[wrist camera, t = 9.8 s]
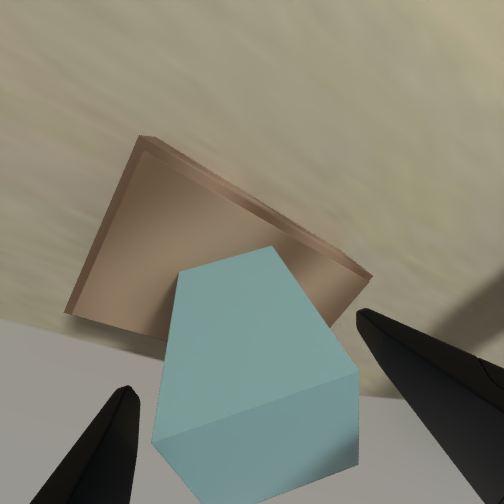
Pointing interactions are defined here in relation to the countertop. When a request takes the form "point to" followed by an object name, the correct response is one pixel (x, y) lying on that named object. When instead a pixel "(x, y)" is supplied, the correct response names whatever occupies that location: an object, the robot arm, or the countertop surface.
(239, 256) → the teal block
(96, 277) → the walnut block
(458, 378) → the robot arm
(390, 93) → the countertop surface
